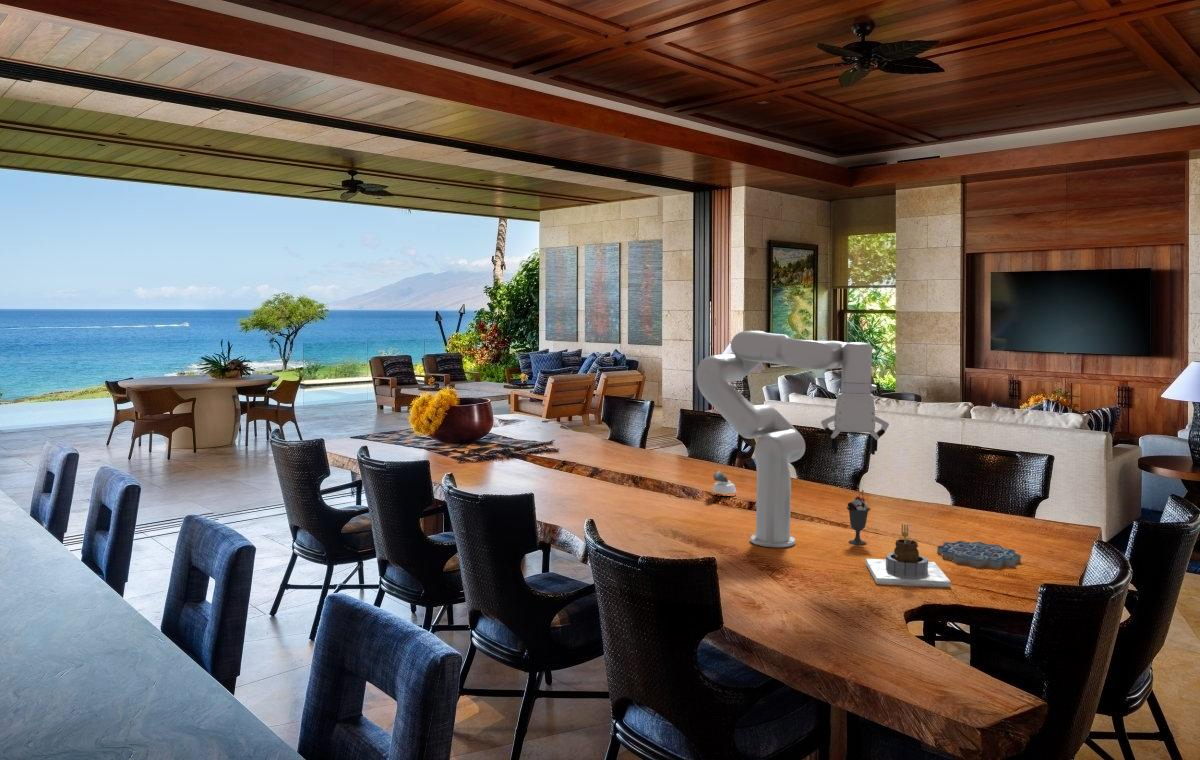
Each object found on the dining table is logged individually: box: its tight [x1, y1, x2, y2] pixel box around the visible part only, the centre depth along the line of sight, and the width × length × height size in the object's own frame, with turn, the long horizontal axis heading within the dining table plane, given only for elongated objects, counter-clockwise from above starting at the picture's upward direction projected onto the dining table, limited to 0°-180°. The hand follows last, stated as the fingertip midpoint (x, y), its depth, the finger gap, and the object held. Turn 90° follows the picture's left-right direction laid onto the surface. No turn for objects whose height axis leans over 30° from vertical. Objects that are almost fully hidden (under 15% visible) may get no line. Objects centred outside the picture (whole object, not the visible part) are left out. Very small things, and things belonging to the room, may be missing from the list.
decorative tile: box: [936, 540, 1022, 570], centre depth 229 cm, size 20×20×2 cm
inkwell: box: [712, 470, 737, 494], centre depth 305 cm, size 9×18×10 cm, turn 160°
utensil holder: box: [893, 523, 920, 562], centre depth 211 cm, size 6×6×12 cm
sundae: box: [846, 490, 871, 546], centre depth 243 cm, size 7×7×15 cm
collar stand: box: [865, 552, 952, 589], centre depth 212 cm, size 17×17×4 cm
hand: (853, 453), depth 226 cm, fingers open, 9 cm apart
